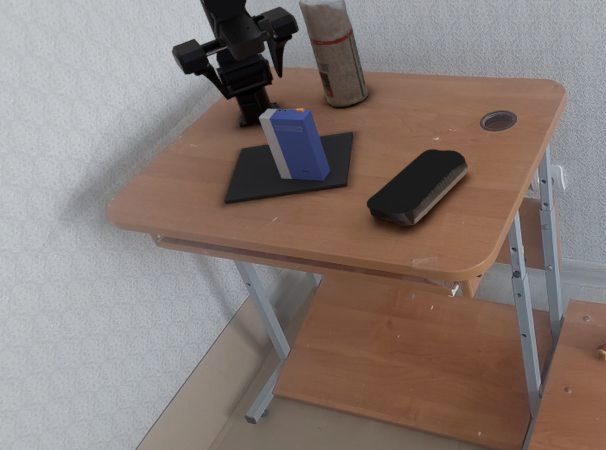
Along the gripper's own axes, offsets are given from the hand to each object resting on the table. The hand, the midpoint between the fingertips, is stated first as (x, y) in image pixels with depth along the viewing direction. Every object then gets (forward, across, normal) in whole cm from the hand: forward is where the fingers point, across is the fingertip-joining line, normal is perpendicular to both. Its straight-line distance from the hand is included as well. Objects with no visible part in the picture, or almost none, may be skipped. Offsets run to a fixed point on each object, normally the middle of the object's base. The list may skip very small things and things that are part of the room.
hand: (254, 87), depth 113 cm
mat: (+13, 0, -6) cm, 14 cm away
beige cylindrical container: (+13, +18, +8) cm, 23 cm away
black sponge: (+13, +13, -28) cm, 34 cm away
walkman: (+13, +1, -10) cm, 16 cm away
